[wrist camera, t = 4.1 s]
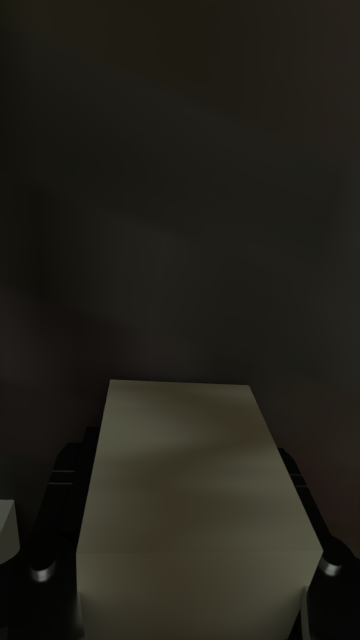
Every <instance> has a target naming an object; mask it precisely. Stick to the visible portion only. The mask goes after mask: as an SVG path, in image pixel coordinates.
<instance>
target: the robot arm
mask: <svg viewBox="0 0 360 640" xmlns="http://www.w3.org/2000/svg"><path fill="white" fill-rule="evenodd" d="M100 430H101V427H87V428H86V431H85V435H84V439H83V443H68V444H67V445H66V446H65V447H64V449H63V450H62V451H61V452H60V453H59V454H58V456H57V459H56V462H55V465H54V468H53V472H52V474H51V477H50V480H49V485H48V486H47V489H46V492H45V495H44V498H43V501H42V504H41V507H40V510H39V513H38V516H37V519H36V522H35V525H34V528H33V531H32V534H31V536H30V538H29V540H28V542H27V543H26V544H25V545H24V546H23V547H22V548H21V549H20V550H19V551H18V553H17V554H16V555H15V556H14V557H12V558H11V559H9V560H8V561H6V562H4V563H2V564H0V640H85V635H84V627H83V619H82V611H81V603H80V595H79V591H77V569H76V552H77V547H78V542H79V537H80V531H81V526H82V521H83V516H84V511H85V506H86V501H87V496H88V491H89V486H90V481H91V476H92V471H93V465H94V460H95V455H96V450H97V445H98V440H99V435H100ZM277 449H278V451H279V454H280V456H281V458H282V460H283V462H284V465H285V467H286V469H287V471H288V474H289V476H290V478H291V480H292V482H293V485H294V487H295V489H296V491H297V494H298V496H299V498H300V500H301V502H302V505H303V507H304V509H305V511H306V514H307V516H308V518H309V520H310V522H311V525H312V527H313V529H314V531H315V534H316V536H317V538H318V540H319V542H320V545H321V547H322V549H323V553H322V555H321V558H320V560H319V563H318V565H317V568H316V570H315V573H314V575H313V578H312V580H311V583H310V585H309V586H305V587H304V590H303V592H302V595H301V597H300V610H299V612H298V615H297V617H296V620H295V622H294V625H293V627H292V630H291V632H290V635H289V637H288V639H284V640H360V559H358V558H356V557H355V556H354V554H353V553H352V552H351V550H350V549H349V548H348V547H347V546H346V545H345V544H344V543H343V542H342V541H340V540H339V539H337V538H336V537H334V536H332V535H331V534H330V532H329V530H328V528H327V526H326V524H325V522H324V520H323V518H322V516H321V514H320V512H319V510H318V508H317V506H316V504H315V501H314V499H313V497H312V495H311V493H310V491H309V489H308V488H307V487H306V483H305V481H304V479H303V477H302V476H301V473H300V471H299V469H298V467H297V465H296V463H295V461H294V459H293V458H292V457H291V456H290V455H289V454H288V453H287V452H286V451H285V450H284V449H283V448H277Z"/></svg>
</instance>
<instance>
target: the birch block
mask: <svg viewBox="0 0 360 640" xmlns="http://www.w3.org/2000/svg"><path fill="white" fill-rule="evenodd" d="M322 553H323V549H322V547H321V545H320V542H319V540H318V538H317V536H316V534H315V531H314V529H313V527H312V525H311V522H310V520H309V518H308V516H307V514H306V511H305V509H304V507H303V505H302V502H301V500H300V498H299V496H298V494H297V491H296V489H295V487H294V485H293V482H292V480H291V478H290V476H289V474H288V471H287V469H286V467H285V465H284V462H283V460H282V458H281V456H280V454H279V451H278V449H277V447H276V445H275V442H274V440H273V438H272V436H271V434H270V431H269V429H268V427H267V425H266V422H265V420H264V418H263V416H262V414H261V411H260V409H259V407H258V405H257V402H256V400H255V398H254V396H253V394H252V391H251V389H250V387H249V385H226V384H202V383H178V382H154V381H130V380H110V384H109V389H108V394H107V399H106V405H105V410H104V415H103V420H102V425H101V430H100V435H99V440H98V445H97V450H96V455H95V460H94V465H93V471H92V476H91V481H90V486H89V491H88V496H87V501H86V506H85V511H84V516H83V521H82V526H81V531H80V537H79V542H78V547H77V552H76V569H77V591H79V595H80V603H81V611H82V619H83V627H84V635H85V640H284V639H288V637H289V635H290V632H291V630H292V627H293V625H294V622H295V620H296V617H297V615H298V612H299V610H300V597H301V595H302V592H303V590H304V587H305V586H309V585H310V583H311V580H312V578H313V575H314V573H315V570H316V568H317V565H318V563H319V560H320V558H321V555H322Z"/></svg>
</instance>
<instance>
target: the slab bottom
mask: <svg viewBox="0 0 360 640" xmlns="http://www.w3.org/2000/svg"><path fill="white" fill-rule="evenodd" d="M19 550H20V544H19V536H18V527H17V519H16V511H15V503H14V500H0V564H2V563H4V562H6V561H8V560H9V559H11V558H12V557H14V556H15V555H16V554H17V553H18V551H19Z"/></svg>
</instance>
